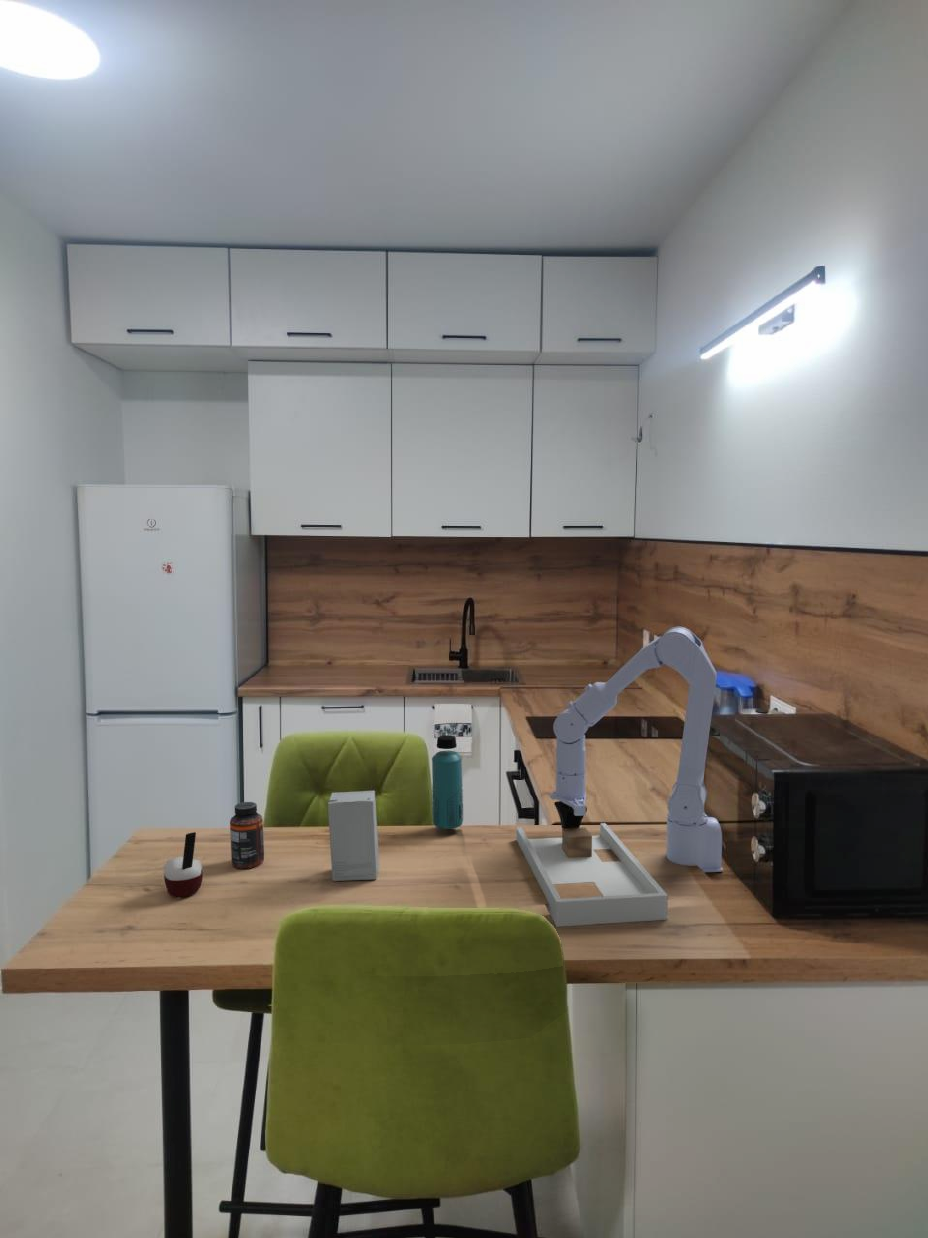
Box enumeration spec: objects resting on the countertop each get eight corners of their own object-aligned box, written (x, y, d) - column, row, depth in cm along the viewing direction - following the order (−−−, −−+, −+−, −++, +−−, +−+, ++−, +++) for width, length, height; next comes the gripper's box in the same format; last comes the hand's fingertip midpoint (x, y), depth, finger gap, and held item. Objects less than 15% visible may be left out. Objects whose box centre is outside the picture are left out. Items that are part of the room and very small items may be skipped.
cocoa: (167, 888, 140) (162, 821, 139) (205, 882, 141) (200, 816, 141) (162, 909, 130) (157, 837, 130) (202, 903, 132) (197, 832, 131)
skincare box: (379, 868, 147) (377, 789, 145) (376, 881, 141) (375, 800, 139) (333, 868, 146) (331, 790, 145) (329, 882, 140) (327, 801, 139)
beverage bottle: (463, 836, 162) (462, 740, 161) (430, 836, 163) (430, 740, 161) (463, 825, 169) (463, 732, 167) (432, 825, 169) (431, 732, 167)
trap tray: (605, 842, 159) (605, 823, 158) (667, 919, 126) (667, 895, 126) (516, 847, 156) (516, 827, 156) (556, 926, 124) (556, 902, 123)
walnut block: (585, 847, 152) (585, 827, 152) (591, 856, 148) (591, 836, 147) (562, 848, 152) (562, 828, 151) (568, 858, 147) (568, 837, 147)
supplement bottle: (258, 855, 153) (256, 797, 152) (268, 865, 148) (267, 806, 147) (227, 861, 150) (225, 803, 149) (237, 872, 145) (235, 812, 144)
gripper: (542, 762, 160) (541, 827, 161) (559, 783, 145) (558, 855, 147) (576, 760, 161) (575, 825, 162) (596, 781, 146) (596, 853, 148)
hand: (570, 839), depth 154 cm, fingers closed
